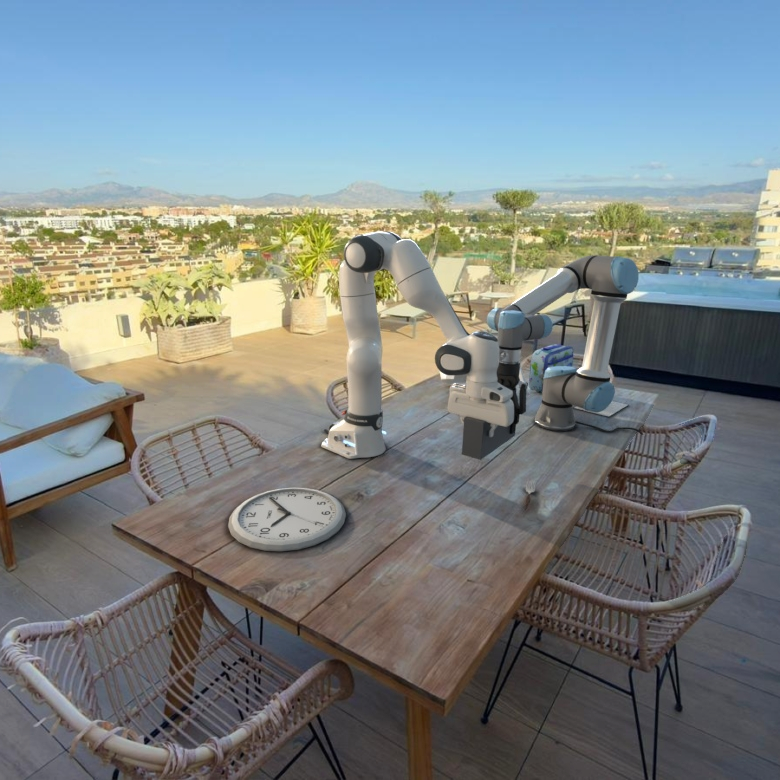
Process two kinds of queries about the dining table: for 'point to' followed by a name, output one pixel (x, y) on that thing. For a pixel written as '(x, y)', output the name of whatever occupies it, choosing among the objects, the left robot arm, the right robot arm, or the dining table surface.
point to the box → (482, 437)
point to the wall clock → (287, 519)
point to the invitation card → (608, 409)
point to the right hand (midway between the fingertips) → (502, 429)
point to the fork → (529, 490)
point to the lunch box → (548, 363)
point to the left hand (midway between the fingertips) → (478, 433)
